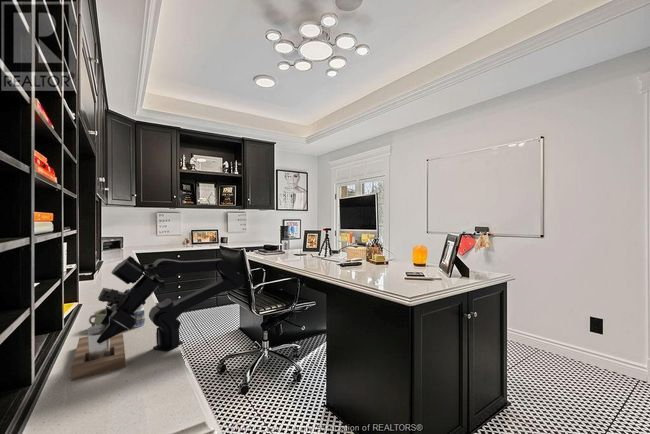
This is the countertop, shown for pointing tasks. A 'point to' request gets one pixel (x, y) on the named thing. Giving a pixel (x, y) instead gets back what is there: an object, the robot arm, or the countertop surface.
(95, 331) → the silver cylindrical piece
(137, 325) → the pill bottle
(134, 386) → the countertop surface
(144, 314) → the white supplement bottle
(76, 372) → the plate
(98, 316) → the vessel
